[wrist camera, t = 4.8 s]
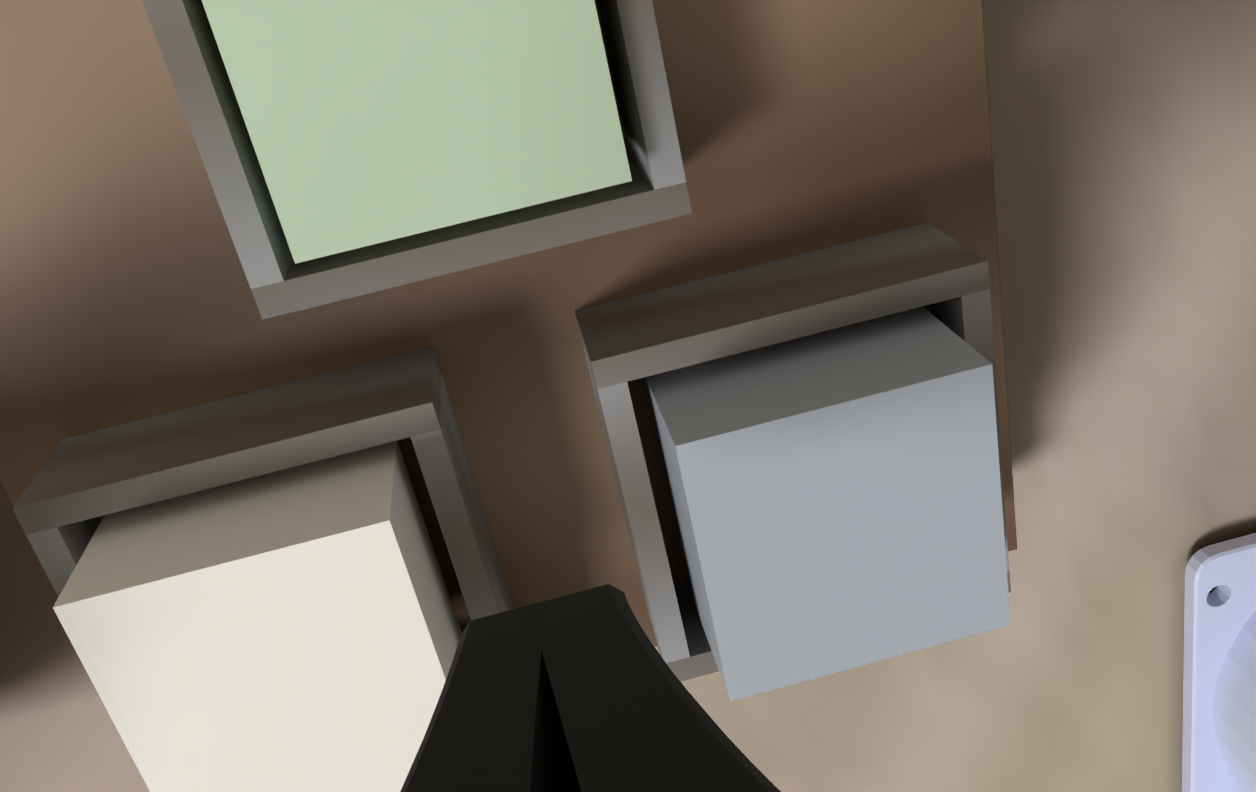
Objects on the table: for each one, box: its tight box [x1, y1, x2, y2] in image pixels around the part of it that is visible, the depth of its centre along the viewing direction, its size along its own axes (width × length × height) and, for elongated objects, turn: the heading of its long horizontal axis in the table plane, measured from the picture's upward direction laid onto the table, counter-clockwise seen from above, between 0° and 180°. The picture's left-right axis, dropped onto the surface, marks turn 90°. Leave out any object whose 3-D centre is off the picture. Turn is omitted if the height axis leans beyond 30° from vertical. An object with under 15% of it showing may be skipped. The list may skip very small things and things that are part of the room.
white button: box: [53, 441, 462, 792], centre depth 15 cm, size 4×4×2 cm
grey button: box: [645, 306, 1011, 702], centre depth 15 cm, size 4×4×2 cm
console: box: [0, 0, 1017, 682], centre depth 16 cm, size 14×15×4 cm
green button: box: [202, 0, 632, 264], centre depth 13 cm, size 4×4×2 cm
